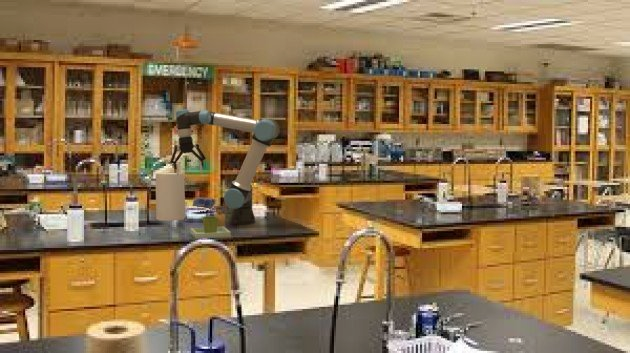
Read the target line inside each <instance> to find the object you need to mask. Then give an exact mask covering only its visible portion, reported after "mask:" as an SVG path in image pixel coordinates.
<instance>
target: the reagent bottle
mask: <svg viewBox="0 0 630 353" xmlns="http://www.w3.org/2000/svg"><path fill="white" fill-rule="evenodd" d="M222 209H223V206H221V205H218V206H216V210H217V213H213V217H219V221H218V225H217V227H225V228H226V213H223V212H222V211H223V210H222Z"/></svg>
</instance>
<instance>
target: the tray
mask: <svg viewBox="0 0 630 353" xmlns="http://www.w3.org/2000/svg"><path fill="white" fill-rule="evenodd" d="M189 233H190V235H191V236H192V237H193V238H194V239H195V240H197V239H199V238H207V237H209V238H214V240H215V238H217V239H231V238H232V232H231V231H230V230H229V229H228V228H226V226H225V227H217V232H215V233H205V232H204V227H194V228H193V227H191V228H190V231H189ZM197 241H198V240H197Z"/></svg>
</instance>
